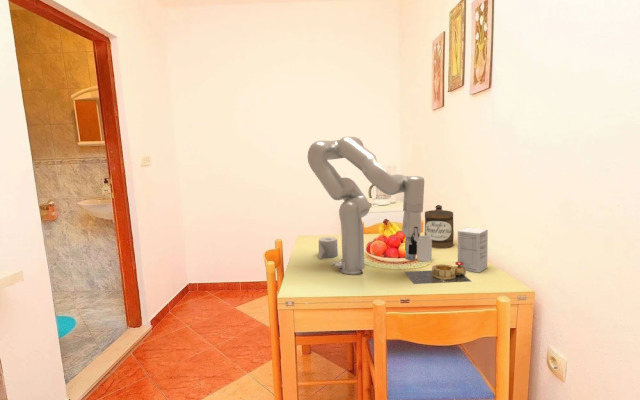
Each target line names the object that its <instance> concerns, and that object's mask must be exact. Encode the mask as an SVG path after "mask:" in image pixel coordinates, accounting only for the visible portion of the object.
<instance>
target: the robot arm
mask: <svg viewBox="0 0 640 400" xmlns="http://www.w3.org/2000/svg"><path fill="white" fill-rule="evenodd" d="M339 159H346V160H347V161H348V162H350V163H351V164H352V165H354V166H355V168H357V169H358V170H360V171H361V172H362V174H363V176H364V177H365V178H366V179H367V180H368V181H369V182H370V183H371V185H373V186H374V187H375V188H377V189H378V190H379V191H380V192H382V193H384V194H385V195H388V196H394V195H396V194H401V193H403V205H402V208H403V210H402V211H403V216H402V217H403V218H402V227H401V228H402V230H401V232H402V233H403V234H404V236H405V237H406V236H407V237H410V244H409V250H408V254H416V255H417V241H418V237H420V236H421V232H422V213H423V212H424V195H425V177H422V176H419V175H409V176H408V175H403V174H391V173H389V172H388V171H387V170H386V169H384V167H382V166H381V165H380V164H379V162H378V160H377V159H378V158H377V157H376V155H375V154H374V153H373V152H372V151H370V150H369V149H368V148H366V147H365V146H364V143H363V141H362V140H361V139H360V138H358V137H356V136H344V137H342V138H340V139H337V140H317V141H315V142H313V143H311V145H310V146H309V149H308V151H307V163H308V166H309V167H310V169H311V170H312V172H313V174H314V175H315V177H316V178H317V179H318V180H319V182H320V184H321V185H322V186H323V188H324V189H325V191H326V192H327V194H328V195H329V196H330V197H331V199H332V200H335V201H341V200H343V202H342V203H341V204H340V207H339V209H338V216H339V219H340V229H341V255H342V256H341V257H342V258H341V259H340V260H339V261H331V266H332V267H335V268H338V271H339V273H342V274H346V275H351V276H353V275H362V274H364V273H363V269H365V241H364V240H365V237H364V234H365V233H364V224H363V220H362V218H364V217H365V216H367V215H368V214H369V213H370V208H371V206H370V202H369V200H368V198H367V197H366V195H365V194H364V192H363V191H362V190H361V188H359V186H358V184H356V182H355V181H354V180H353V179H351V178H349V177H342V176H341V175H340V174H339V173H338V171H337V170H336V168H335V167H334V165H332V164H331V163H330V162H329V161H331V160H339ZM328 160H329V161H328ZM411 236H414V237H411ZM412 238H414V239H412ZM404 251H406V241H405V248H404Z"/></svg>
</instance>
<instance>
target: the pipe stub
mask: <svg viewBox="0 0 640 400" xmlns="http://www.w3.org/2000/svg"><path fill="white" fill-rule="evenodd" d="M411 237H414V235H413V236H411ZM412 239H414V238H412ZM405 242H406V250H405V260H407V261H416V259H417V254H408V250H409V244H410V237H407V236H406V235H405Z"/></svg>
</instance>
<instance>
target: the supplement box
mask: <svg viewBox="0 0 640 400" xmlns="http://www.w3.org/2000/svg"><path fill="white" fill-rule="evenodd" d="M488 234H489V233H488V229H483V228H476V227H475V228H474V227H465V228H463V229H462V228H461V229H459V230H458V231H457V262H463V263H464V265H460V266H464V267H465V269H466V271H468V272H472V273H473V272H474V273H477V274H478V273H481V272H482V271H484V270H486V269H487V268H488Z"/></svg>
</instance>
